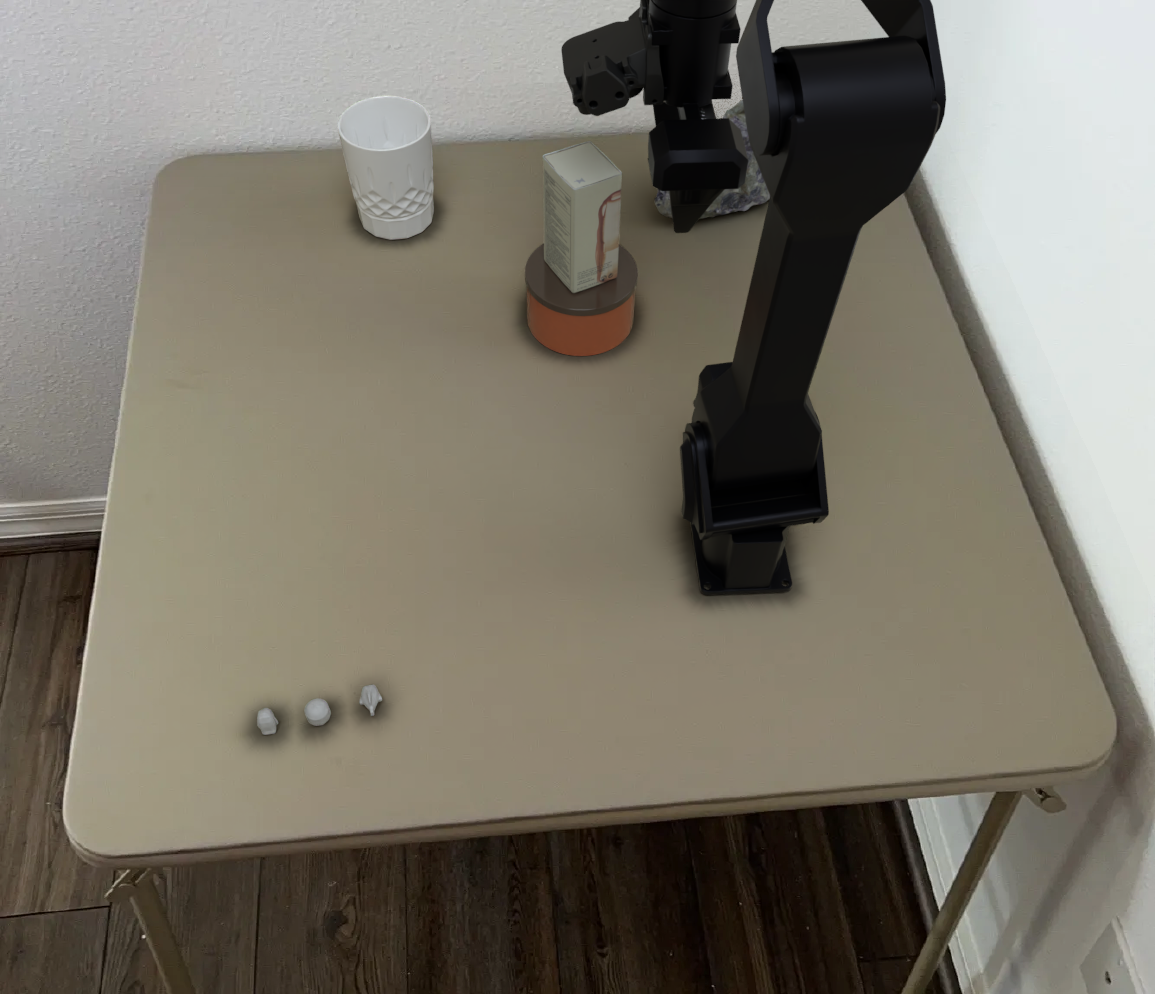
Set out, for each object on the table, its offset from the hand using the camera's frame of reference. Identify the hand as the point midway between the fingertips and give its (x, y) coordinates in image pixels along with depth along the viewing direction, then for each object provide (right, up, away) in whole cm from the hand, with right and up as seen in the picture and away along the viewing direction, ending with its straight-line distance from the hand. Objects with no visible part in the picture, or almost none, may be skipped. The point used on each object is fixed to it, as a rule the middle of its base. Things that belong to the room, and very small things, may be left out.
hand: (673, 192), depth 86 cm
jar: (-7, -8, +10) cm, 15 cm away
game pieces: (-24, -37, -12) cm, 46 cm away
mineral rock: (+6, +5, +21) cm, 22 cm away
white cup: (-24, +2, +18) cm, 30 cm away
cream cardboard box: (-7, -5, +6) cm, 10 cm away
